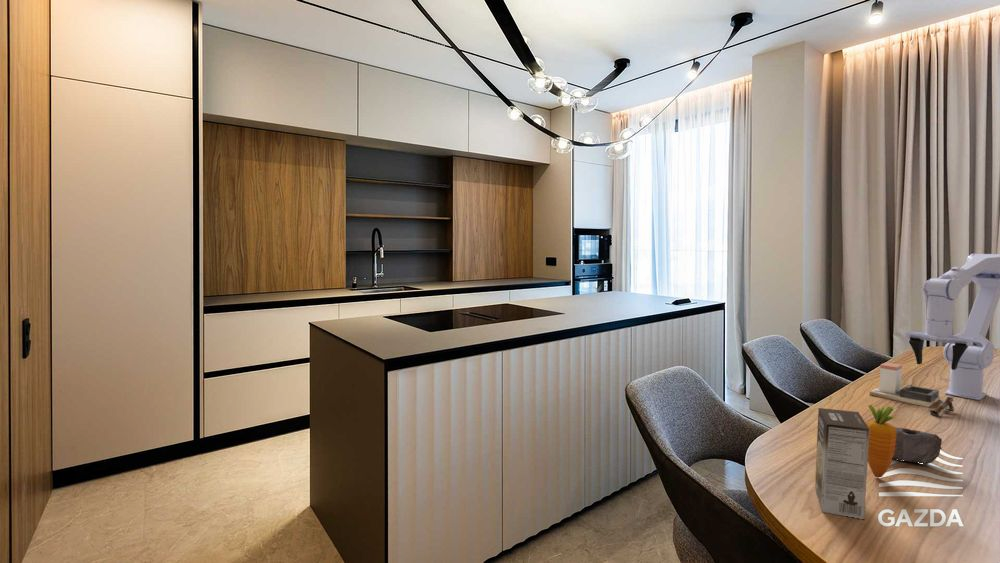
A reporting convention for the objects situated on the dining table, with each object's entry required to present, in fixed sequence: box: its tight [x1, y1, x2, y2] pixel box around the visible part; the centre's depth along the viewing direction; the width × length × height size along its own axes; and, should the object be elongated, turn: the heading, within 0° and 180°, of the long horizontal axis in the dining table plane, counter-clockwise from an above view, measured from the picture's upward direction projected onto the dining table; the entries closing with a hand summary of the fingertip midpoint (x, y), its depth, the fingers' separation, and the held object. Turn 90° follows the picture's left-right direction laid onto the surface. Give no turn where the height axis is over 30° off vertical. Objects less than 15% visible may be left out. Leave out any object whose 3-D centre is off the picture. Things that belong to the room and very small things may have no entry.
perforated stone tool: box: [892, 426, 943, 466], centre depth 106 cm, size 15×5×7 cm, turn 45°
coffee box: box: [814, 407, 870, 520], centre depth 87 cm, size 9×6×16 cm
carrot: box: [865, 404, 897, 478], centre depth 97 cm, size 5×5×15 cm
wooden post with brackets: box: [929, 396, 955, 417], centre depth 133 cm, size 2×8×4 cm, turn 109°
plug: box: [878, 362, 903, 394], centre depth 150 cm, size 5×4×8 cm
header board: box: [869, 384, 941, 408], centre depth 147 cm, size 11×14×3 cm
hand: (936, 366), depth 142 cm, fingers open, 7 cm apart
